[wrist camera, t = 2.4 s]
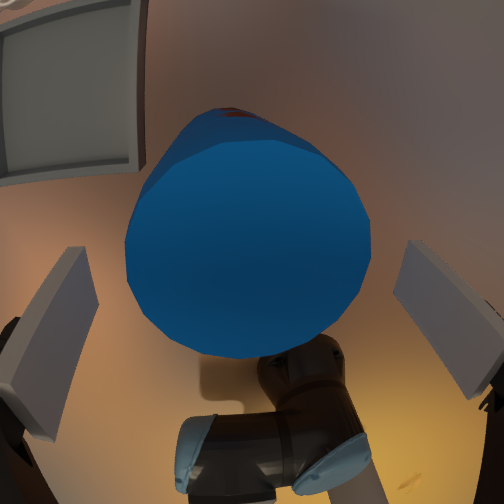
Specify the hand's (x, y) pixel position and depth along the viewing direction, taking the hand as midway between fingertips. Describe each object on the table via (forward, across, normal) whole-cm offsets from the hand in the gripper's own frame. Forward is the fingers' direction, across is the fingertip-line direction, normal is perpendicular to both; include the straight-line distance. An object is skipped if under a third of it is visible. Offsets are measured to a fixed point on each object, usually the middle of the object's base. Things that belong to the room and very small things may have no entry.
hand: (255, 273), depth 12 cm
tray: (+26, +19, -8) cm, 33 cm away
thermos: (+26, 0, 0) cm, 26 cm away
